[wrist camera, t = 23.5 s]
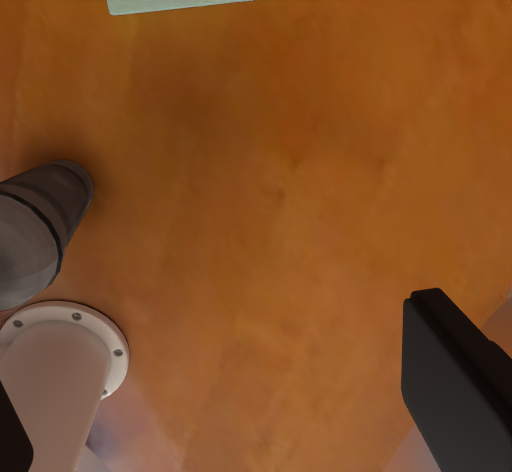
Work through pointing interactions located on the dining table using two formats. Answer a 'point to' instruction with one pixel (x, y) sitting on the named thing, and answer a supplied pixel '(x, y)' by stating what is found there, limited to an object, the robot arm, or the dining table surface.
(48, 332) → the robot arm
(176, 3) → the scale
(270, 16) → the dining table surface
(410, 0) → the dining table surface
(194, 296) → the dining table surface
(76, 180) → the beverage cup
